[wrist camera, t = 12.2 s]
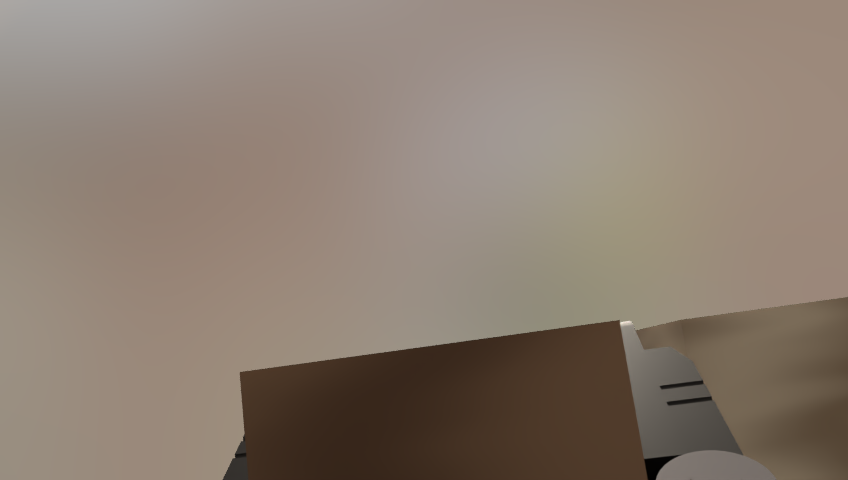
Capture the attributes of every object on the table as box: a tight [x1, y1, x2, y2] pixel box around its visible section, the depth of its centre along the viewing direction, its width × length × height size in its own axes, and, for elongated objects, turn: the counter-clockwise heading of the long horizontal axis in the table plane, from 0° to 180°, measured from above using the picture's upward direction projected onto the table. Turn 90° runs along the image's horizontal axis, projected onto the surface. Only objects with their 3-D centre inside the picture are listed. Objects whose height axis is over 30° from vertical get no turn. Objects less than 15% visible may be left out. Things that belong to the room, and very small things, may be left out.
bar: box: [240, 320, 648, 480], centre depth 20 cm, size 4×26×4 cm, turn 172°
